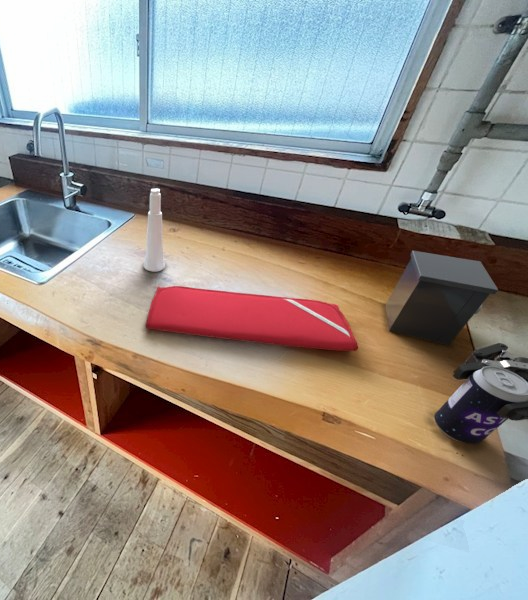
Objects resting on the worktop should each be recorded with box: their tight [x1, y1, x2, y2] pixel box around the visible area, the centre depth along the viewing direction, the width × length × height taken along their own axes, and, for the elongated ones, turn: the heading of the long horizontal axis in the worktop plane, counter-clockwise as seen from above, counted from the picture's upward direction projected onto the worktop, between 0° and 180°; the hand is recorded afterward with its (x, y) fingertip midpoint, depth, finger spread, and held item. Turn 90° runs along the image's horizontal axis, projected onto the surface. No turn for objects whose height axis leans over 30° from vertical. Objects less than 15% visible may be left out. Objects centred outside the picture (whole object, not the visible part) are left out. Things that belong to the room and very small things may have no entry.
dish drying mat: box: [145, 285, 359, 352], centre depth 71 cm, size 16×41×4 cm, turn 76°
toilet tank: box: [384, 250, 499, 346], centre depth 65 cm, size 11×11×14 cm
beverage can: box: [433, 366, 528, 445], centre depth 46 cm, size 6×6×12 cm
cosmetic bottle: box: [143, 188, 166, 272], centre depth 86 cm, size 6×6×22 cm
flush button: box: [474, 304, 483, 315], centre depth 63 cm, size 3×3×3 cm
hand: (479, 391), depth 44 cm, fingers closed on beverage can, 5 cm apart
